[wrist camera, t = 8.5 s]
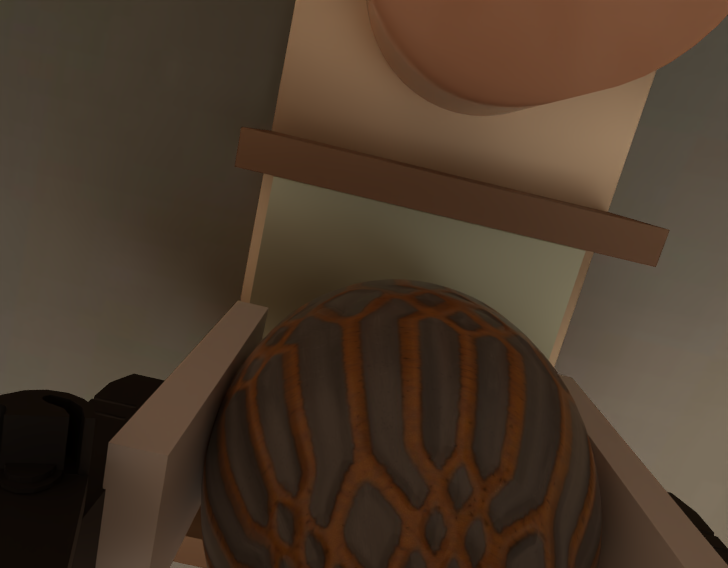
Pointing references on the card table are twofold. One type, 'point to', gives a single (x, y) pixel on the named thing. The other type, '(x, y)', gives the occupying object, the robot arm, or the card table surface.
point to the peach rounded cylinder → (532, 46)
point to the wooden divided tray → (429, 189)
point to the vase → (399, 442)
